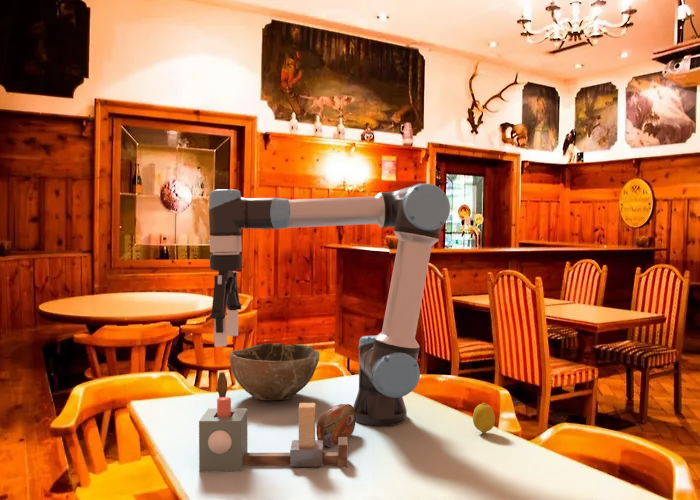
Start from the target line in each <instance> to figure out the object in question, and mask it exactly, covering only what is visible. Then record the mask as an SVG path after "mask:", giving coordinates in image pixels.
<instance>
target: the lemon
mask: <svg viewBox="0 0 700 500" xmlns="http://www.w3.org/2000/svg"><path fill="white" fill-rule="evenodd" d="M472 422H473V425H474V427H475V428H476V430H478V431H480V433H482V434H486V433H487V432H489V431H492V429H493V427H494V426H495V422H496V417H495V412H494V409H493V408H492V407H491V405H489V404H487V403H486V402H482V403H481V404H478V405H476V407H475V408H474V410H473V415H472Z"/></svg>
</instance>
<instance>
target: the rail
mask: <svg viewBox="0 0 700 500" xmlns="http://www.w3.org/2000/svg"><path fill="white" fill-rule="evenodd" d="M323 465H324V466H325V465H326V466H327V465H328V466H332V465H333V466H334V465H335V466H336V465H337V468H348V438H347V437H338V444H337V452H330V451H329V452H326V451H325V452H324V451H323V456H322V466H323ZM243 466H290V452H247V453H245V454H244V465H243Z"/></svg>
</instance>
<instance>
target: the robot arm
mask: <svg viewBox="0 0 700 500" xmlns="http://www.w3.org/2000/svg"><path fill="white" fill-rule="evenodd" d="M208 196H209V198H208V199H209V200H208V203H209V204H208V222H209V225H208V226H209V227H208V228H209V229H208V231H209V239H207V244H209V252H210V253H212V254H210V256H209V269H210V270H211V271H217V272H218V275H214V277H213V278H214V281H213V282H214V286H213V298H212V306H211V307H212V308H211V312H210V313H211V314H210V315H209V317H210V318H209V319H210V320H211V319H213V334H214V337H213V339H214V341H213V343H214V347H215V348H216V347H218V348H220V347H223V348H224V347H227V346H228V341H227V340H228V338H227V337H238V336H239V311H240V310H242V305H241V303H240V295H239V288H238V286H239V285H238V277H237V275H238V274H237V271H238V270H241V269H242V255H241V254H240V253H241V252H243V250H242V249H243V248H242V247H243V246H242V230H243V229H245V230H248V229H249V230H250V229H252V230H256V229H257V230H273V229H274V230H280V229H289V228H290V229H292V228H309V227H310V228H313V227H314V228H315V227H316V228H317V227H334V226H335V227H339V226H356V225H357V226H359V225H360V226H361V225H377V226H378V227H379V228H394V231H393V234H394V235H395V236H396V238H397V247H396V252H395V258H394V263H393V268H392V269H393V270H392V275H391V279H390V285H389V291H388V297H387V302H386V308H385V312H384V318H383V324H382V329H381V332H380V333H378V334H377V335H362V336H361V337H360V339H359V342H358V348H357V349H358V391H357V395H356V397H355V400H354V403H353V405H352V406H353V408H354V410H355V414H356V422H358V423H359V424H362V425H365V426H366V425H367V426H374V427H375V426H377V427H386V426H387V427H389V426H394V425H395V426H396V425H399V424H402V423H404V422H405V421H406V420H407V418H408V417H407V416H408V415H407V412H408V411H407V407H406V404H405V401H404V398H403V397H405V396H407V395H409V394H410V393H412V392H413V391H414V390H415V388H417V385H418V384H419V381H420V378H421V377H420V376H421V371H420V366H419V363H418V356H419V352H420V344H419V343H418V341H417V340H416V335H417V331H418V330H417V329H418V324H419V323H418V322H419V318H420V312H421V306H422V301H423V295H424V291H425V285H426V279H427V273H428V269H429V263H430V258H431V251H432V247H433V246H434V245H435V244H436V243H438V242H439V241H440V237H441V231H442V227H443V226H444V225H445V223H446V222H447V220H448V218H449V216H450V212H451V204H450V200H449V197H448V196H447V195H446V192H445V191H444V190H442V188H440V187H439V186H438V185H435V184H432V183H422V182H421V183H416V184H413V185H411V186H407V187H404V188H401V189H398V190H393V191H386V192H385V191H384V192H378V193H377V194H376V195H375V196H374V195H373V196H355V197H354V196H353V197H352V196H351V197H331V198H327V197H326V198H300V199H298V198H297V199H288V198H279V197H255V198H254V197H252V198H251V197H250V198H247V197H242V195H241V191H240V189H239V190H238V189H228V188H227V189H225V188H223V189H214V190H212V191H210V193H209V195H208Z"/></svg>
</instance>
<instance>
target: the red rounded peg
mask: <svg viewBox="0 0 700 500" xmlns="http://www.w3.org/2000/svg"><path fill="white" fill-rule="evenodd" d="M216 407H217V408H216V409H217V417H231V409H232V398H231V397H230V396H229V397H228V396H226V397H221V398H219V397H218V398H217V399H216Z"/></svg>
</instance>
